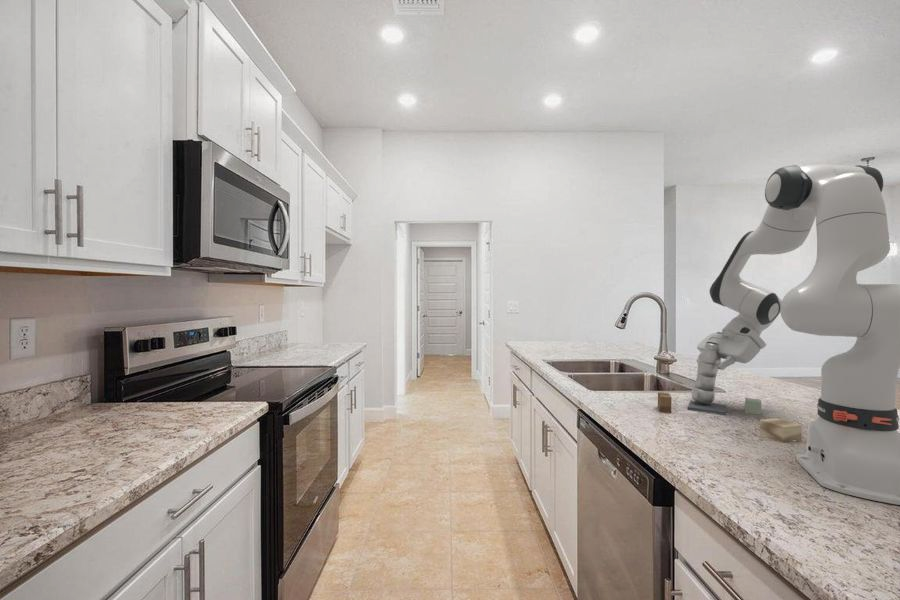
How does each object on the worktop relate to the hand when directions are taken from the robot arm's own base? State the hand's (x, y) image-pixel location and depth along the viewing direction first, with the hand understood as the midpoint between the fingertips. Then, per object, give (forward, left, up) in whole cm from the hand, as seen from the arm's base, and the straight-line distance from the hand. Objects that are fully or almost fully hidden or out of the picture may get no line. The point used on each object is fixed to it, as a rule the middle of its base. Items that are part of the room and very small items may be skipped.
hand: (708, 365), depth 133 cm
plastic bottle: (+2, +2, -13) cm, 13 cm away
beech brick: (-20, -17, -14) cm, 30 cm away
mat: (0, 0, -14) cm, 14 cm away
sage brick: (+3, -12, -14) cm, 18 cm away
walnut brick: (-10, +11, -14) cm, 21 cm away
